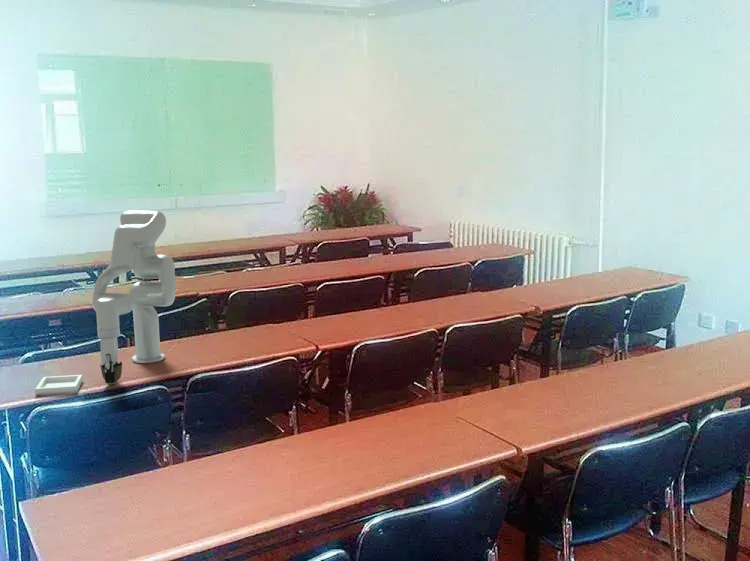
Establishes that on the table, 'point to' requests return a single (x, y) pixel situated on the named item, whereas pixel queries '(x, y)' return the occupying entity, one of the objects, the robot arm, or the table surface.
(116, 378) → the cup
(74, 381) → the tray
